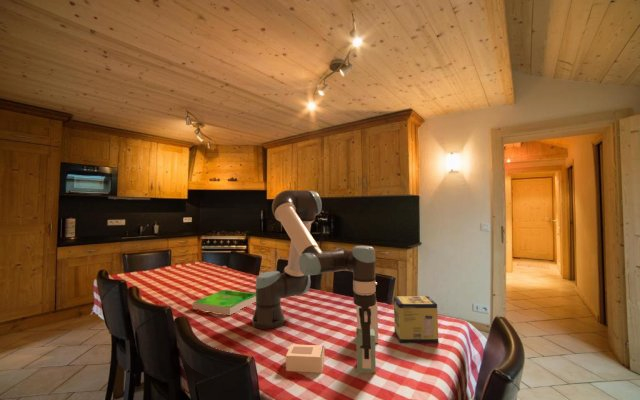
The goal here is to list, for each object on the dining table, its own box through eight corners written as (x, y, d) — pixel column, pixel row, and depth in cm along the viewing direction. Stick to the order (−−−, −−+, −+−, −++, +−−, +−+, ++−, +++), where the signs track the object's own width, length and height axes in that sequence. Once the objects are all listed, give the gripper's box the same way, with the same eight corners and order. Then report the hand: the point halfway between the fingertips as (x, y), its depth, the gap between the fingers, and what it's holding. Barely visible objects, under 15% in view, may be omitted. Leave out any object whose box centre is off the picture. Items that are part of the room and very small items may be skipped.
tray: (192, 311, 153) (192, 302, 153) (224, 297, 176) (224, 289, 176) (230, 317, 143) (230, 307, 144) (258, 302, 167) (258, 293, 167)
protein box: (393, 332, 122) (392, 295, 123) (429, 332, 122) (428, 295, 122) (399, 343, 112) (398, 303, 112) (439, 343, 111) (438, 303, 112)
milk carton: (356, 336, 118) (356, 290, 119) (373, 335, 119) (372, 290, 120) (360, 344, 111) (359, 295, 112) (378, 343, 112) (377, 295, 113)
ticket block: (286, 370, 94) (286, 354, 94) (291, 358, 101) (291, 343, 102) (322, 372, 92) (321, 356, 92) (324, 359, 100) (324, 345, 100)
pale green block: (357, 372, 92) (356, 334, 93) (356, 363, 97) (356, 328, 98) (375, 372, 92) (374, 334, 92) (374, 364, 97) (373, 328, 97)
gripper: (378, 303, 84) (380, 379, 83) (373, 283, 106) (374, 343, 105) (353, 302, 85) (355, 378, 84) (353, 283, 107) (354, 343, 106)
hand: (365, 359), depth 95 cm, fingers open, 10 cm apart
